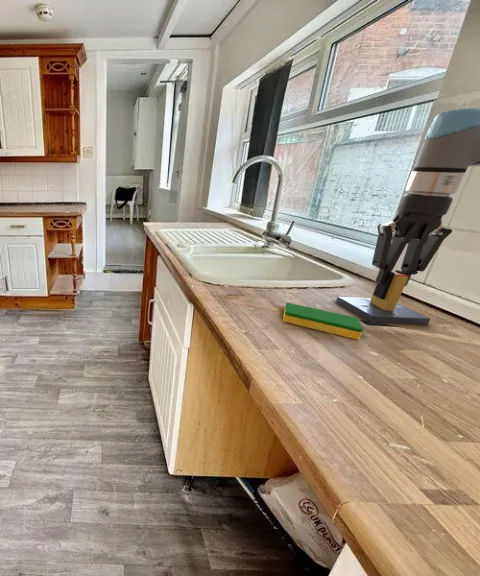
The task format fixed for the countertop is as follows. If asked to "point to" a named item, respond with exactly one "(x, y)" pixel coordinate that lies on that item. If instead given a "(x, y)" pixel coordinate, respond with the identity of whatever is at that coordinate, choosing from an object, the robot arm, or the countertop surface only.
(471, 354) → the countertop surface
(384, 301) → the lock knob
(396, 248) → the robot arm
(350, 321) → the dish sponge
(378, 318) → the plate
